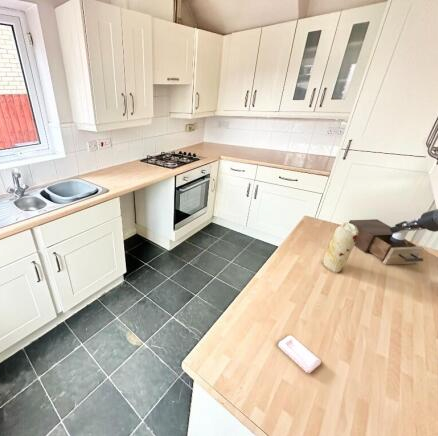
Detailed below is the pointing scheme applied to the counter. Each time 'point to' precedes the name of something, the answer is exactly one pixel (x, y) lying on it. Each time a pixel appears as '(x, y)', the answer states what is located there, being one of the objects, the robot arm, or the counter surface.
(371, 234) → the cabinet
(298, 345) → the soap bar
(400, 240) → the tube
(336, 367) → the counter surface
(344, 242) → the food model
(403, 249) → the drawer
